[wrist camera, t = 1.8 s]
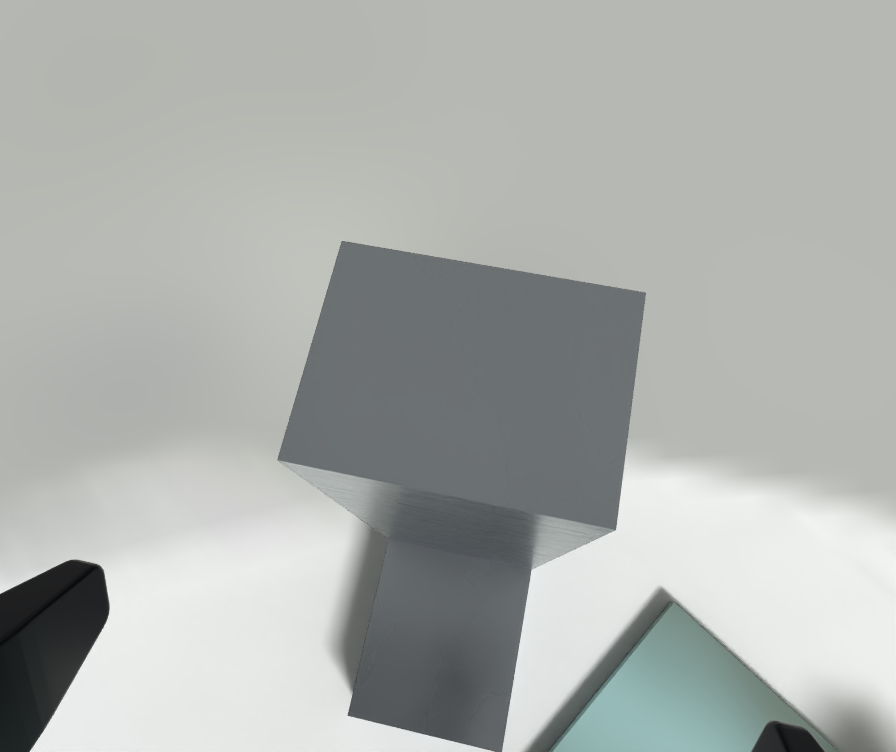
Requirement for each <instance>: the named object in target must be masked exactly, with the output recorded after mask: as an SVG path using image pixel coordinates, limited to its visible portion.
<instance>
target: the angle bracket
mask: <svg viewBox="0 0 896 752" xmlns="http://www.w3.org/2000/svg"><path fill="white" fill-rule="evenodd" d="M645 295H646V293H645V292H639V291H632V290H627V289H621V288H615V287H609V286H603V285H598V284H592V283H585V282H580V281H574V280H568V279H562V278H556V277H550V276H545V275H539V274H533V273H526V272H521V271H515V270H509V269H504V268H498V267H492V266H486V265H480V264H474V263H468V262H462V261H457V260H451V259H445V258H439V257H433V256H427V255H421V254H415V253H410V252H403V251H398V250H392V249H386V248H380V247H374V246H368V245H363V244H357V243H351V242H345V241H342V242H341V246H340V249H339V252H338V256H337V259H336V263H335V266H334V269H333V273H332V276H331V280H330V283H329V287H328V290H327V293H326V297H325V300H324V303H323V307H322V310H321V314H320V317H319V320H318V324H317V327H316V330H315V334H314V337H313V341H312V344H311V347H310V351H309V355H308V358H307V362H306V365H305V368H304V371H303V375H302V378H301V381H300V385H299V388H298V392H297V395H296V398H295V402H294V405H293V409H292V412H291V415H290V419H289V422H288V426H287V429H286V432H285V436H284V439H283V442H282V446H281V449H280V453H279V456H278V459H277V460H278V461H279V462H281V463H282V464H283V465H285V466H286V467H288V468H289V469H290V470H292V471H293V472H295V473H296V474H297V475H299V476H300V477H302V478H303V479H305V480H306V481H307V482H309V483H310V484H312V485H313V486H314V487H316V488H317V489H319V490H320V491H321V492H323V493H324V494H326V495H327V496H329V497H330V498H331V499H333V500H334V501H336V502H337V503H338V504H340V505H341V506H343V507H344V508H345V509H347V510H348V511H350V512H351V513H353V514H354V515H355V516H357V517H358V518H360V519H361V520H362V521H364V522H365V523H367V524H368V525H369V526H371V527H372V528H374V529H375V530H377V531H378V532H379V533H381V534H382V535H384V536H385V537H386V538H388V544H387V548H386V552H385V557H384V561H383V565H382V570H381V574H380V578H379V583H378V587H377V591H376V596H375V600H374V604H373V608H372V613H371V617H370V621H369V626H368V630H367V634H366V639H365V643H364V647H363V652H362V656H361V660H360V665H359V669H358V673H357V678H356V682H355V686H354V690H353V695H352V699H351V703H350V708H349V712H348V716H351V717H355V718H360V719H364V720H368V721H372V722H376V723H380V724H384V725H388V726H392V727H397V728H401V729H405V730H409V731H413V732H417V733H421V734H425V735H429V736H434V737H438V738H442V739H446V740H450V741H454V742H458V743H462V744H466V745H471V746H475V747H479V748H483V749H487V750H491V751H495V752H502V747H503V741H504V735H505V729H506V723H507V716H508V710H509V704H510V698H511V692H512V686H513V680H514V674H515V667H516V661H517V655H518V649H519V643H520V637H521V631H522V624H523V618H524V612H525V606H526V600H527V594H528V588H529V581H530V575H531V570H532V569H534V568H536V567H538V566H540V565H543V564H545V563H547V562H549V561H551V560H553V559H555V558H557V557H560V556H562V555H564V554H566V553H568V552H570V551H572V550H574V549H577V548H579V547H581V546H583V545H585V544H587V543H589V542H591V541H594V540H596V539H598V538H600V537H602V536H604V535H606V534H608V533H611V532H613V531H615V530H616V525H617V517H618V509H619V501H620V494H621V486H622V478H623V470H624V462H625V454H626V446H627V438H628V430H629V422H630V414H631V407H632V399H633V391H634V383H635V375H636V374H635V373H636V367H637V359H638V351H639V342H640V334H641V326H642V320H643V311H644V304H645Z"/></svg>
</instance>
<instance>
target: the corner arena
mask: <svg viewBox="0 0 896 752" xmlns="http://www.w3.org/2000/svg"><path fill="white" fill-rule="evenodd" d="M771 720H779V721H783V722H788V723H792V724H796V725H800V726H802V727H804V728H806V729H807V730H808V731H809V732H810V733H811V734H812V735H813V736H814V738H815V739H816V740H817V741H818V743H819V744H820V745H821V746H822V748H823V749H824V750H825V751H826V752H839V751H837V750H836V749H835V748H834V747H833V746H832V745H831V744H830V743H829V742H828V741H826V740H825V739H824V738H823V737H822V736H821V735H820V734H819V733H818V732H817V731H815V730H814V729H813V728H812V727H811V726H810V725H809V724H808V723H807V722H806V721H804V720H803V719H802V718H801V717H800V716H799V715H798V714H797V713H796V712H795V711H793V710H792V709H791V708H790V707H789V706H788V705H787V704H786V703H785V702H784V701H782V700H781V699H780V698H779V697H778V696H777V695H776V694H775V693H774V692H773V691H772V690H770V689H769V688H768V687H767V686H766V685H765V684H764V683H763V682H762V681H761V680H759V679H758V678H757V677H756V676H755V675H754V674H753V673H752V672H751V671H750V670H748V669H747V668H746V667H745V666H744V665H743V664H742V663H741V662H740V661H739V660H737V659H736V658H735V657H734V656H733V655H732V654H731V653H730V652H729V651H728V650H726V649H725V648H724V647H723V646H722V645H721V644H720V643H719V642H718V641H717V640H715V639H714V638H713V637H712V636H711V635H710V634H709V633H708V632H707V631H706V630H704V629H703V628H702V627H701V626H700V625H699V624H698V623H697V622H696V621H695V620H694V619H692V618H691V617H690V616H689V615H688V614H687V613H686V612H685V611H684V610H683V609H681V608H680V607H679V606H678V605H677V604H676V603H675V602H670V603H669V604H668V605H667V607H666V608H665V609H664V610H663V612H662V613H661V614H660V615H659V616H658V618H657V619H656V620H655V621H654V623H653V624H652V625H651V626H650V627H649V629H648V630H647V631H646V632H645V634H644V635H643V636H642V637H641V639H640V640H639V641H638V642H637V643H636V645H635V646H634V647H633V648H632V650H631V651H630V652H629V653H628V654H627V656H626V657H625V658H624V659H623V661H622V662H621V663H620V664H619V666H618V667H617V668H616V669H615V670H614V672H613V673H612V674H611V675H610V677H609V678H608V679H607V680H606V681H605V683H604V684H603V685H602V686H601V688H600V689H599V690H598V691H597V693H596V694H595V695H594V696H593V697H592V699H591V700H590V701H589V702H588V704H587V705H586V706H585V707H584V708H583V710H582V711H581V712H580V713H579V715H578V716H577V717H576V718H575V719H574V721H573V722H572V723H571V724H570V726H569V727H568V728H567V729H566V731H565V732H564V733H563V734H562V735H561V737H560V738H559V739H558V740H557V742H556V743H555V744H554V745H553V746H552V748H551V749H550V750H549V751H548V752H751V751H752V749H753V747H754V745H755V743H756V741H757V740H758V738H759V736H760V734H761V732H762V730H763V729H764V727H765V725H766V724H767V722H769V721H771Z"/></svg>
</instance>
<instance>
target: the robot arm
mask: <svg viewBox="0 0 896 752" xmlns="http://www.w3.org/2000/svg"><path fill="white" fill-rule="evenodd" d="M109 608H110V606H109V599H108V593H107V586H106V580H105V574H104V570H103V569H102V567H101V566H100V565H98V564H94V563H90V562H86V561H81V560H69V561H66V562H64V563H62V564H60V565H58V566H56V567H54V568H52V569H50V570H48V571H46V572H44V573H42V574H40V575H38V576H36V577H34V578H32V579H29V580H27V581H25V582H23V583H21V584H19V585H17V586H15V587H13V588H11V589H9V590H7V591H5V592H3V593H1V594H0V752H30V750H31V749H32V747H33V746H34V744H35V743H36V741H37V740H38V738H39V737H40V735H41V734H42V732H43V731H44V729H45V728H46V726H47V724H48V723H49V721H50V719H51V718H52V716H53V715H54V713H55V711H56V709H57V708H58V706H59V704H60V702H61V701H62V699H63V697H64V695H65V694H66V692H67V690H68V688H69V687H70V685H71V683H72V681H73V680H74V678H75V676H76V674H77V673H78V671H79V669H80V667H81V666H82V664H83V662H84V660H85V659H86V657H87V655H88V653H89V652H90V650H91V648H92V646H93V645H94V643H95V641H96V639H97V638H98V636H99V634H100V632H101V631H102V629H103V627H104V625H105V623H106V621H107V618H108V615H109ZM751 752H826V751H825V750H824V749H823V748H822V746H821V745H820V744H819V743H818V741H817V740H816V739H815V738H814V736H813V735H812V734H811V733H810V732H809V731H808V730H807V729H806V728H804V727H802V726H800V725H796V724H792V723H788V722H783V721H779V720H771V721H769V722H767V724H766V725H765V727H764V729H763V730H762V732H761V734H760V736H759V738H758V740H757V741H756V743H755V745H754V747H753V749H752V751H751Z"/></svg>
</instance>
